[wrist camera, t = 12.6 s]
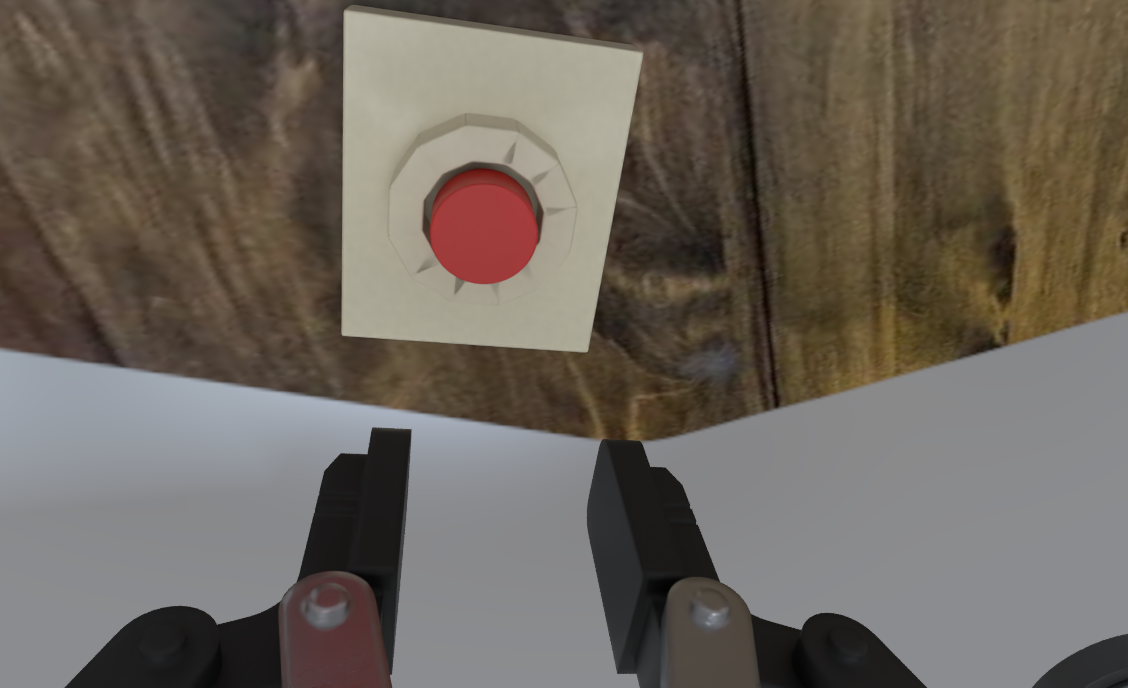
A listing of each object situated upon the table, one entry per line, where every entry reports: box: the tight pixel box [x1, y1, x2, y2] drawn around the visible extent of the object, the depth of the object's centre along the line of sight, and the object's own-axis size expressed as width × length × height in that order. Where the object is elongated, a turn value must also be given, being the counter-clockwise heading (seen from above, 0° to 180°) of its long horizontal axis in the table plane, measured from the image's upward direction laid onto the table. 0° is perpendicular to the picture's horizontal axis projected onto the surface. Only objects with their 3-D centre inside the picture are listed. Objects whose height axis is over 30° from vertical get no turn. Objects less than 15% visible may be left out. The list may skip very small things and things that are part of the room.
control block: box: [342, 5, 643, 352], centre depth 28 cm, size 12×10×4 cm
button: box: [430, 168, 538, 284], centre depth 26 cm, size 4×4×2 cm
